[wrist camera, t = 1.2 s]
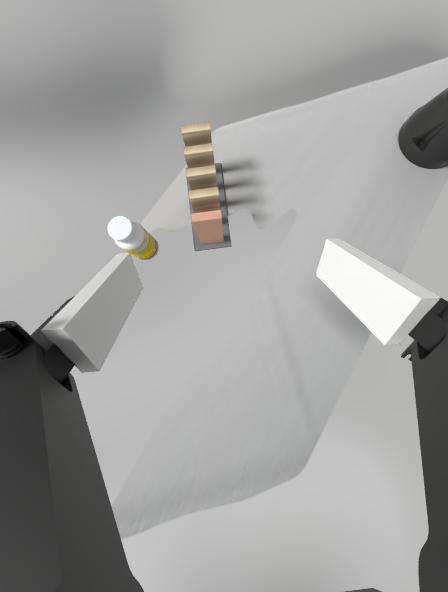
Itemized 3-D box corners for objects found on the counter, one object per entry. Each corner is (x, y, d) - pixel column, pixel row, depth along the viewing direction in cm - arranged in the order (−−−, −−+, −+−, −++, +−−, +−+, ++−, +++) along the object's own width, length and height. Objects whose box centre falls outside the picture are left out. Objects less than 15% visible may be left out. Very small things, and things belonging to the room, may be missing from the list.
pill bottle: (129, 246, 44) (96, 224, 33) (150, 231, 44) (123, 205, 33) (143, 265, 44) (114, 250, 33) (164, 251, 44) (142, 230, 33)
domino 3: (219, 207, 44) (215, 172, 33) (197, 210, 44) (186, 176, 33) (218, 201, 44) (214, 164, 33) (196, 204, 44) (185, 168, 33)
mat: (231, 246, 43) (231, 246, 43) (194, 251, 43) (194, 250, 43) (220, 163, 45) (220, 163, 45) (185, 168, 46) (185, 167, 45)
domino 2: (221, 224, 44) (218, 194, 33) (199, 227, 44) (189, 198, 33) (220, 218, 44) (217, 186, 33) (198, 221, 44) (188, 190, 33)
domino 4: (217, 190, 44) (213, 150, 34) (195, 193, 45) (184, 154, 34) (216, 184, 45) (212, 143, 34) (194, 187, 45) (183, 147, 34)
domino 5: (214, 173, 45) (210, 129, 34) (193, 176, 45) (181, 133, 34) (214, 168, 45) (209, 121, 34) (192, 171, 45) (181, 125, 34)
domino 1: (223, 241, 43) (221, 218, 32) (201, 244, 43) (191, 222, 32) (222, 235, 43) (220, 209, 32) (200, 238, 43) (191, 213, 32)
